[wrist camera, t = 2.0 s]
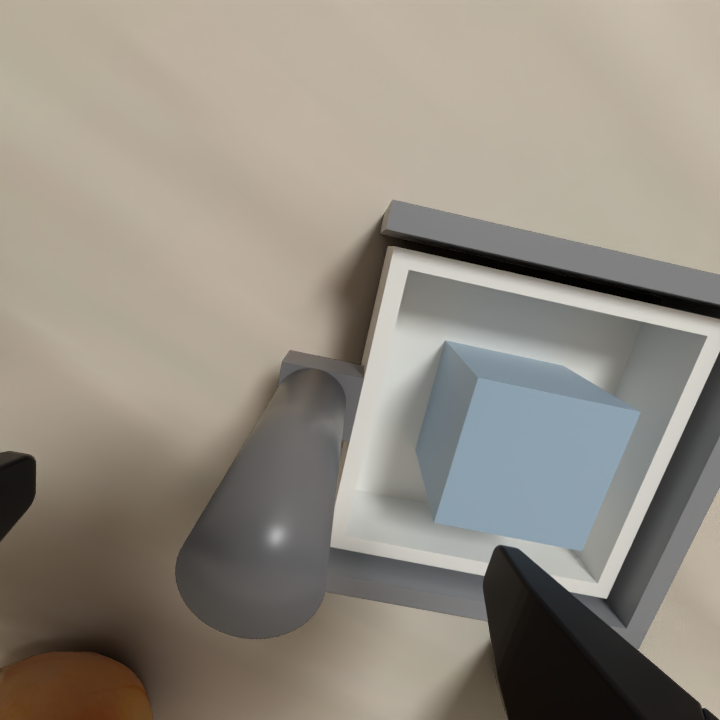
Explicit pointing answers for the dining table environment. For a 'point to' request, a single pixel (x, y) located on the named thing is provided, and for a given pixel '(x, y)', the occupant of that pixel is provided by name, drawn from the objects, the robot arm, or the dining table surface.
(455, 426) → the light blue cube
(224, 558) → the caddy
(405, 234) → the bay
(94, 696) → the onion
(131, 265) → the dining table surface
